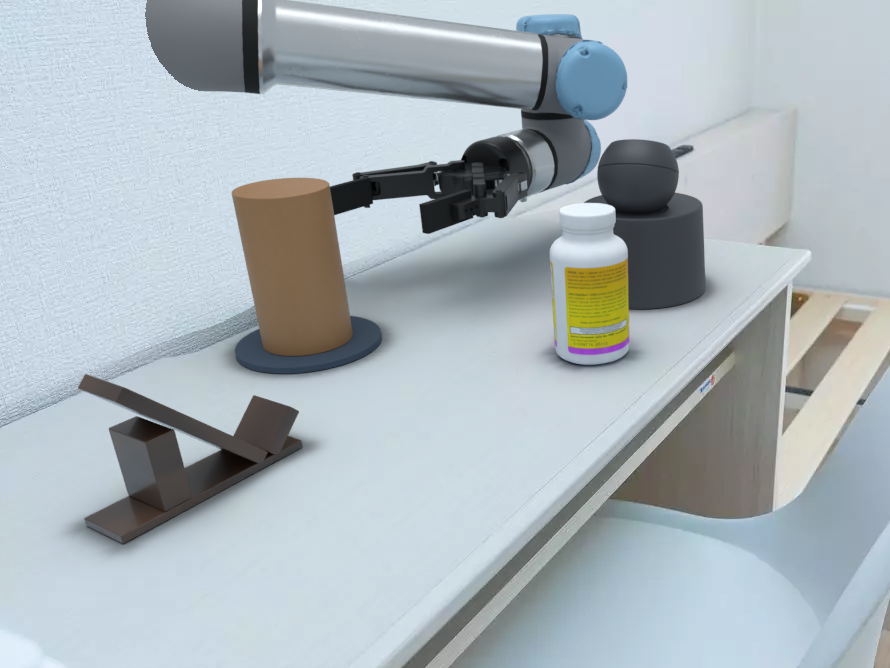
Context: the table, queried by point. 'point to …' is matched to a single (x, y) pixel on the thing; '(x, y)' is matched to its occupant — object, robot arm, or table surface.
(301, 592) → the table surface
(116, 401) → the roll stand
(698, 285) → the gray pot with base
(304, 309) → the paper roll
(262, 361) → the mat
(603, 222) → the supplement bottle
